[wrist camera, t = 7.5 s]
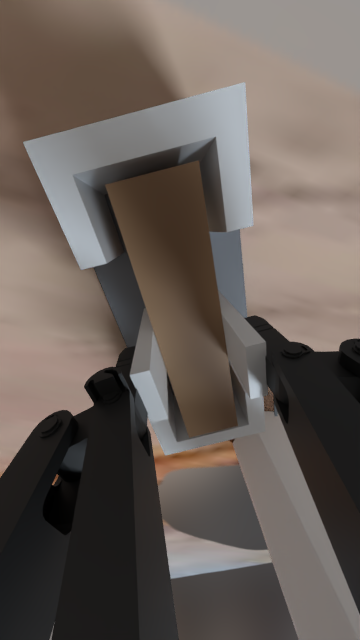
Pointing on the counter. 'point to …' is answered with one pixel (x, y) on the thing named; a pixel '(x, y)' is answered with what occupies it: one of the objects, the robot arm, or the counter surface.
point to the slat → (179, 288)
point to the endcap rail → (103, 230)
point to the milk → (296, 537)
